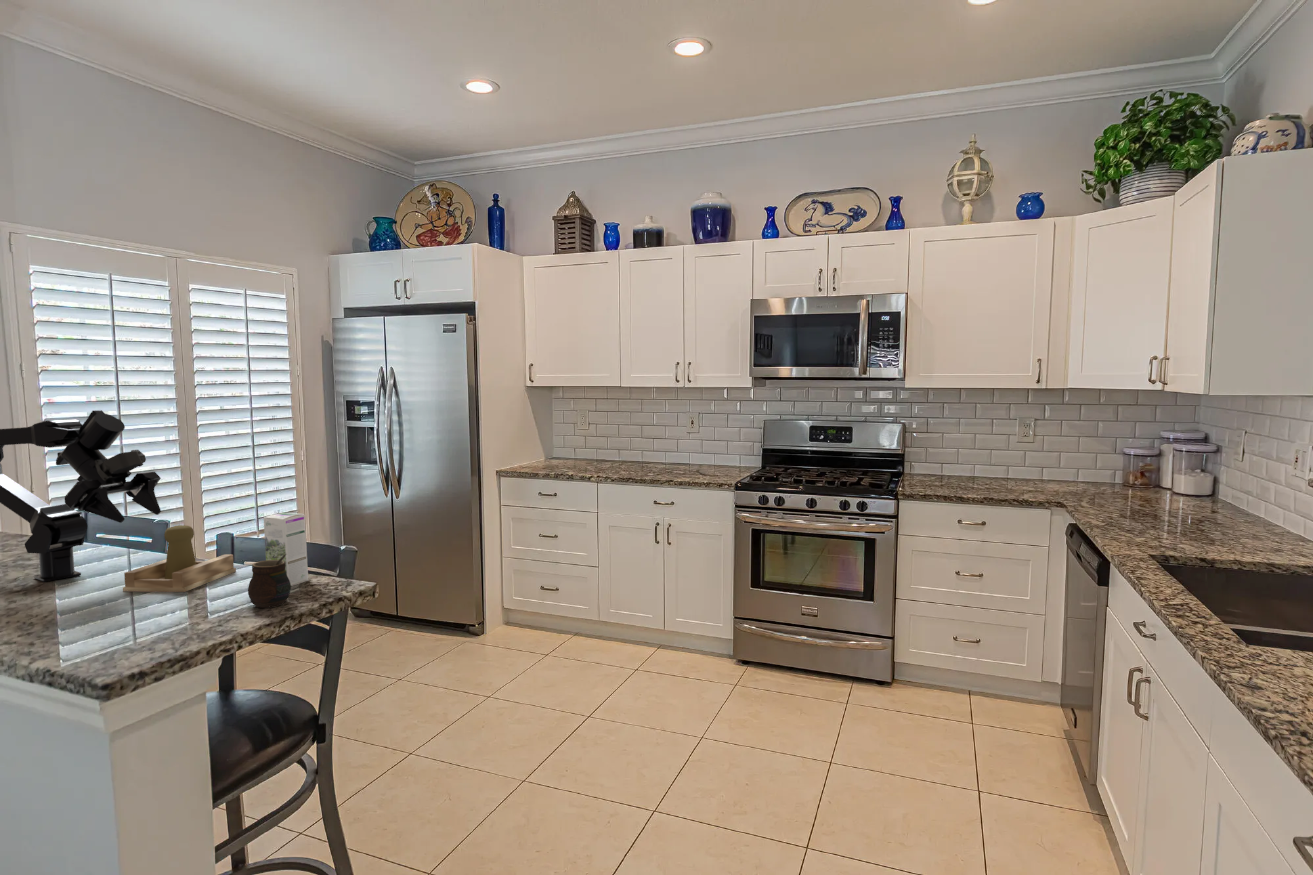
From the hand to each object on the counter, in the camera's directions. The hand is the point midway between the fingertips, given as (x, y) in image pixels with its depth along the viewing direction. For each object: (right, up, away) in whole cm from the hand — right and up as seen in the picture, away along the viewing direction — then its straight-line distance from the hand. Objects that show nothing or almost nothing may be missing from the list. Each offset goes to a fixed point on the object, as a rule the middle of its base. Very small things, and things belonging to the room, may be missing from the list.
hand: (141, 517), depth 152 cm
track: (+9, -14, 0) cm, 16 cm away
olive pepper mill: (+9, -13, 0) cm, 16 cm away
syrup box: (+32, -14, -2) cm, 35 cm away
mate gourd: (+37, -15, -17) cm, 43 cm away
